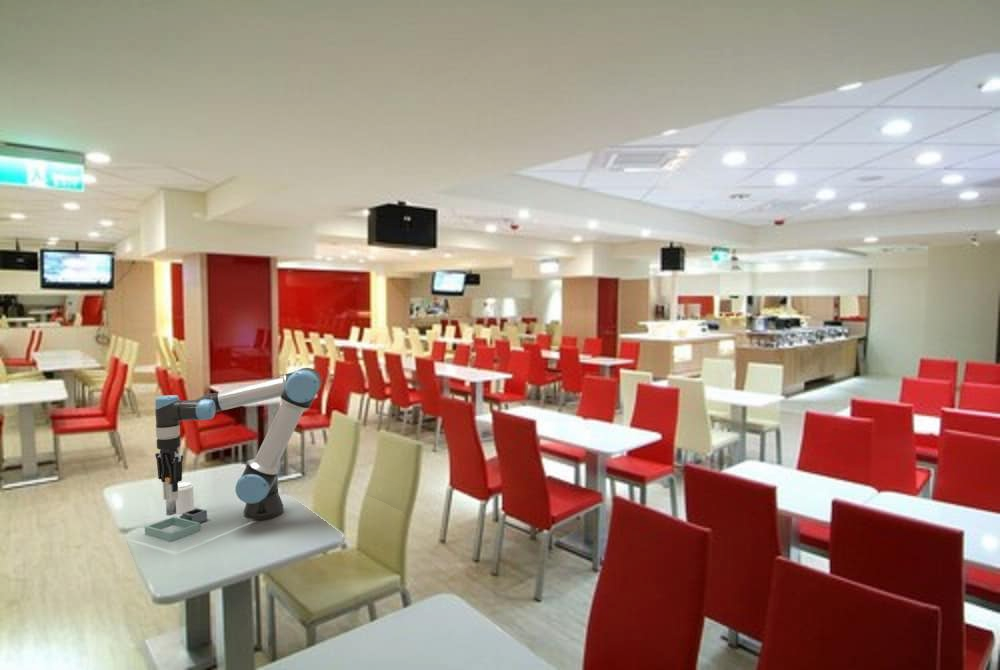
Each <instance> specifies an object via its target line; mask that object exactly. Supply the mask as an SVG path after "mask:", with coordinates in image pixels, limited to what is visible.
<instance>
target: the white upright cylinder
mask: <svg viewBox="0 0 1000 670" xmlns="http://www.w3.org/2000/svg"><path fill="white" fill-rule="evenodd" d="M194 495H195V494H194V485H193V483H192V482H191V481H179V482H178V499H177V500H176V514H175V515H182V513H185V512H188V511H190V510H193V509H195V498H194Z"/></svg>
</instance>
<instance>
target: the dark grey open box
mask: <svg viewBox="0 0 1000 670" xmlns="http://www.w3.org/2000/svg"><path fill="white" fill-rule="evenodd" d="M179 518H182V519H186V520H190V521H194V522H198V523H200V525H201V524H204V523H207V522H209V521H211V519H208V512H207V510H206V509H202V508H198V507H197V508H194V509H193V510H190V511H188V512H185V513H182V514H180V516H179Z"/></svg>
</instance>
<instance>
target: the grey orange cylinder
mask: <svg viewBox="0 0 1000 670" xmlns="http://www.w3.org/2000/svg"><path fill="white" fill-rule="evenodd" d="M170 482H171V481H170V476H167V477H165V492H166V500H165V510H166V511H165V512H166V516H172V515H177V514H176V500H173V501H170V494H169V483H170Z"/></svg>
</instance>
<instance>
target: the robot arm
mask: <svg viewBox="0 0 1000 670" xmlns="http://www.w3.org/2000/svg"><path fill="white" fill-rule="evenodd" d="M322 383H323V382H322V376H321V375H320V373H319V371H317V370H315V368H311V367H303V368H300V369H297V370H295V371H291V372H289V373H285V374H284V375H283V377H279V378H273V379H270V380H266V381H260V382H257V383H252V384H248V385H244V386H239V387H236V388H232V389H226V390H222V391H219V392H214V393H206V394H203V395H202V396H200V397H198V398H197V399H189V400H180V398H179V396H178V395H176V394H174V395H173V394H171V395H170V394H168V395H162V396H158V397H156V399H155V405H154V407H155V408H154V410H155V434H156V435H155V436H156V449H157V450H160V451H159V452H157V453H155V455H154V457H155V458H156V468H157V479H158V480H161V482H162V494H163V495H162V497H163V500H164V501H166V492H165V477H167V476H170V481H171V482H170V483H169V494H170V501H173V500H177V499H178V483H180V482H183V481H182V480H183V459H184V455H182V454H181V455H180V454H179V451H178V448H180V446H181V437H180V435H181V430H180V429H181V426H180V425H181V424H180V422H181V421H182V422H183V421H205V420H212V419H213V418H214V417H215V415H216V413H218V412H222V411H224V410H230V409H234V408H239V407H242V406H248V405H250V404H251V405H252V404H257V403H259V402H265V401H267V400H273V399H277V398H280V400H281V403H280V406H279V409H278V411H277V412H276V414H275V417H274V418H273V421H272V423H271V425H270V427H269V429H268V431H267V433H266V435H265V437H264V439H263V441H262V443H261V445H260V447H259V449H258V452H257V454H256V455H255V458H251V459H248V460H247V461H246V464H245V469H244V471H243V473H242V474H241V476H240V478H239V479H237V482H236V485H235V494H236V496H237V498H238V499H239V500H240V501H241V502H243V503H245V507H244V509H243V517H244V518H247V519H250V520H251V519H252V521H264V520H270V519H274V518H276V517H278V516H281V515H282V514H283V513H284V510H285V509H284V503H283V501H282V500H281V499H282V498H281V496H280V494H279V475H278V474H279V469H278V466H279V462H280V461H281V459H282V456H283V455H284V452H285V450H286V448H287V446H288V444H289V441H290V439H291V438H292V435H293V434H294V431H295V430H296V429H297V428H296V427H297V425H298V424H299V421H300V420H301V417H302V415H303V413H304V411H306V410H309V409H310V407H311V406H312V405H313V402H314V400H315V398H316V395H317V393H318V392H319V390H320V389H321V387H322Z"/></svg>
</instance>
